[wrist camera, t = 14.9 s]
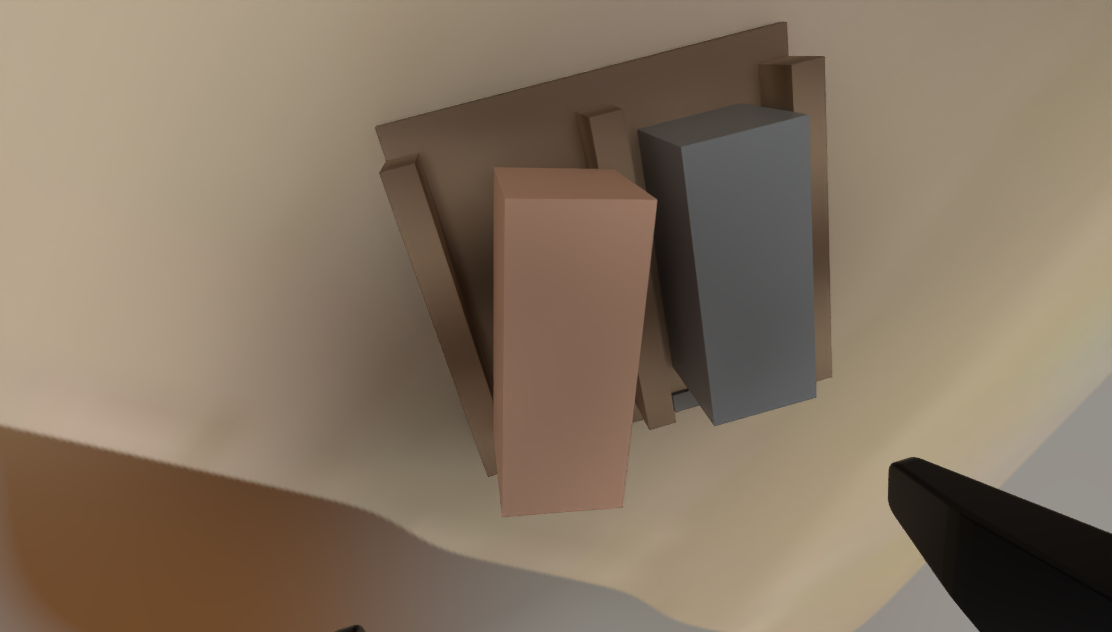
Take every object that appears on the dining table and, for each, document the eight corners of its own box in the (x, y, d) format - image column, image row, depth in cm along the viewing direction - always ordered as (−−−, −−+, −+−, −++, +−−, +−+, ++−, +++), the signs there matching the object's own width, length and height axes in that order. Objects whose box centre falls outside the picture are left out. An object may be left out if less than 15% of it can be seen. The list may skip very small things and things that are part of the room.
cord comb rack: (376, 125, 18) (365, 136, 16) (778, 22, 19) (823, 18, 16) (491, 455, 23) (495, 498, 21) (797, 367, 24) (832, 399, 22)
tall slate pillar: (636, 129, 19) (681, 147, 15) (741, 103, 19) (808, 114, 15) (672, 366, 23) (714, 426, 19) (758, 343, 23) (816, 397, 19)
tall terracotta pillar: (493, 167, 16) (505, 198, 13) (614, 168, 17) (657, 200, 13) (493, 434, 20) (502, 517, 16) (592, 428, 21) (622, 507, 17)
